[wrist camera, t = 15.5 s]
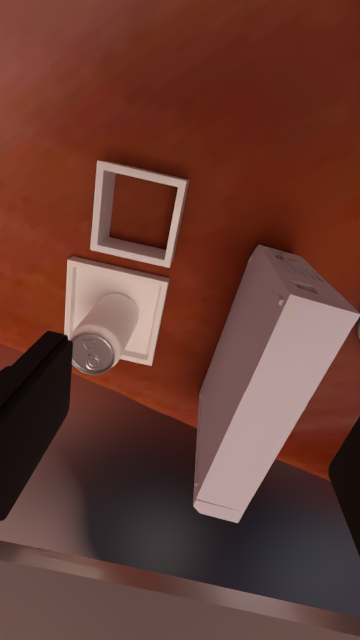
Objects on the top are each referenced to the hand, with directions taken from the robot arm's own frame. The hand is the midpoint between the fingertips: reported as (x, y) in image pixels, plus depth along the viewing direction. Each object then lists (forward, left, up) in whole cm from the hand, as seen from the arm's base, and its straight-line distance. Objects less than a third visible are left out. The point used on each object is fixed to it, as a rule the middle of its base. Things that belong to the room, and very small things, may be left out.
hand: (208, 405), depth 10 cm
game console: (+14, +8, -35) cm, 38 cm away
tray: (+15, -11, -34) cm, 39 cm away
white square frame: (0, -9, -34) cm, 35 cm away
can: (+15, -10, -34) cm, 38 cm away
